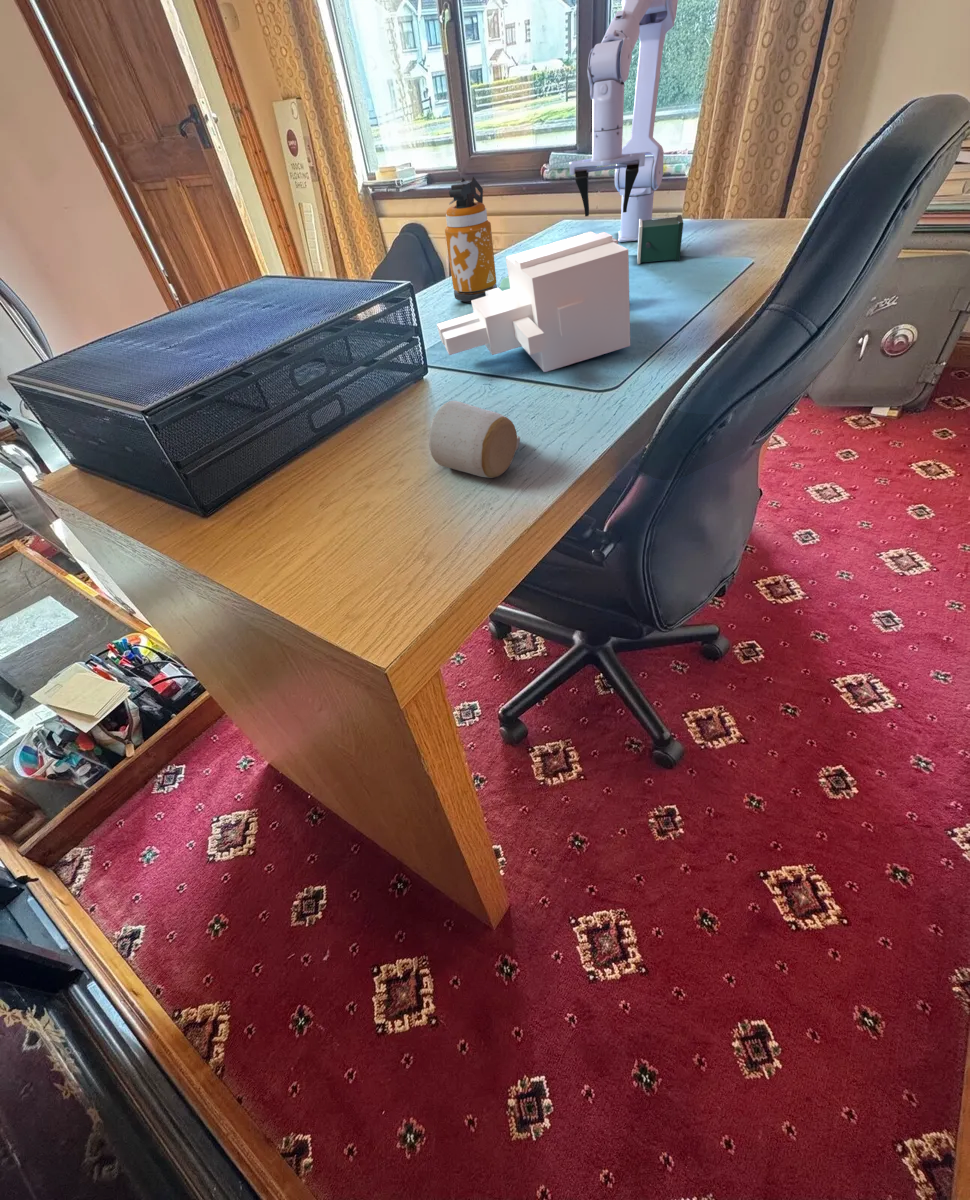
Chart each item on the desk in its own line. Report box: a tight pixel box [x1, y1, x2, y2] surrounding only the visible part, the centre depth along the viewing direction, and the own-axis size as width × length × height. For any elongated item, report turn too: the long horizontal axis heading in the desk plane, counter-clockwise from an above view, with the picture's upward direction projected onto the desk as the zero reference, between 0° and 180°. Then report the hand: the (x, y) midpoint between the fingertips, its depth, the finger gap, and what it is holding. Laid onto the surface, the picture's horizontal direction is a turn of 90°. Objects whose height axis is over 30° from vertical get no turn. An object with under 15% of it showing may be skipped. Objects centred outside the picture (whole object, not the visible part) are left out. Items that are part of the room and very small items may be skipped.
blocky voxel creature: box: [436, 231, 631, 373], centre depth 87 cm, size 15×25×28 cm
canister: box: [444, 176, 498, 304], centre depth 111 cm, size 9×11×20 cm
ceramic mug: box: [428, 400, 521, 479], centre depth 66 cm, size 11×8×8 cm
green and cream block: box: [636, 214, 684, 265], centre depth 120 cm, size 9×8×7 cm
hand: (605, 213), depth 117 cm, fingers open, 7 cm apart
